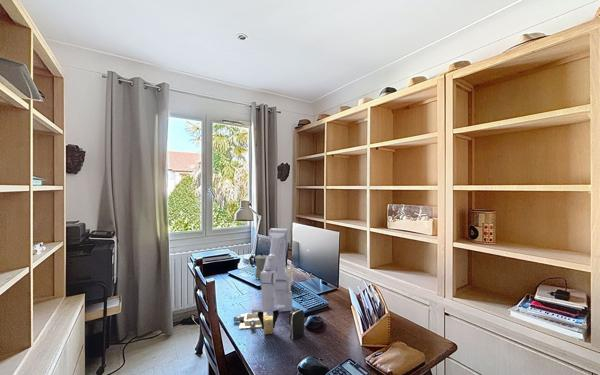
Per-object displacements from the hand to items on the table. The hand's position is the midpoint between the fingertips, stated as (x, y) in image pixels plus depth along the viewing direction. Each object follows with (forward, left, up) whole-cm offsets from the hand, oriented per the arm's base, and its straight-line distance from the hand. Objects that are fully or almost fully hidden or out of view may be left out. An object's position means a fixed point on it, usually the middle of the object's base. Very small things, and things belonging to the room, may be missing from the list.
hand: (268, 327), depth 117 cm
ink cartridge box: (-14, -51, -3) cm, 53 cm away
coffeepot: (+3, -72, -3) cm, 72 cm away
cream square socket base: (+8, -11, -3) cm, 14 cm away
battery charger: (-12, +4, -3) cm, 13 cm away
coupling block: (0, 0, -2) cm, 2 cm away
